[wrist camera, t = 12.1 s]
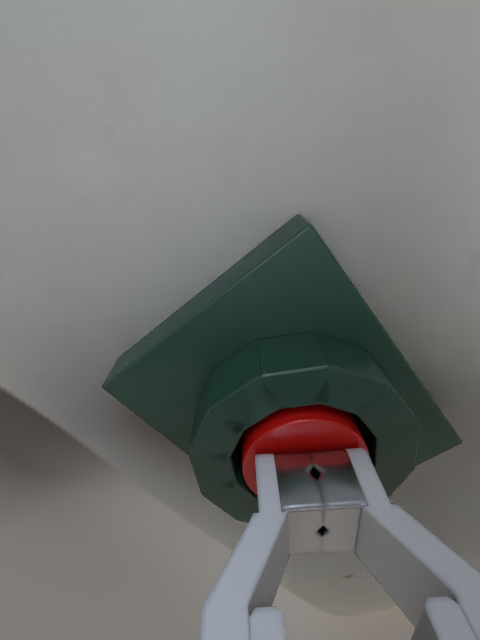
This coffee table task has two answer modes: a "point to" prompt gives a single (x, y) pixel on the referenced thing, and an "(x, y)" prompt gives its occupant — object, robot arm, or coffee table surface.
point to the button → (298, 435)
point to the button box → (277, 368)
